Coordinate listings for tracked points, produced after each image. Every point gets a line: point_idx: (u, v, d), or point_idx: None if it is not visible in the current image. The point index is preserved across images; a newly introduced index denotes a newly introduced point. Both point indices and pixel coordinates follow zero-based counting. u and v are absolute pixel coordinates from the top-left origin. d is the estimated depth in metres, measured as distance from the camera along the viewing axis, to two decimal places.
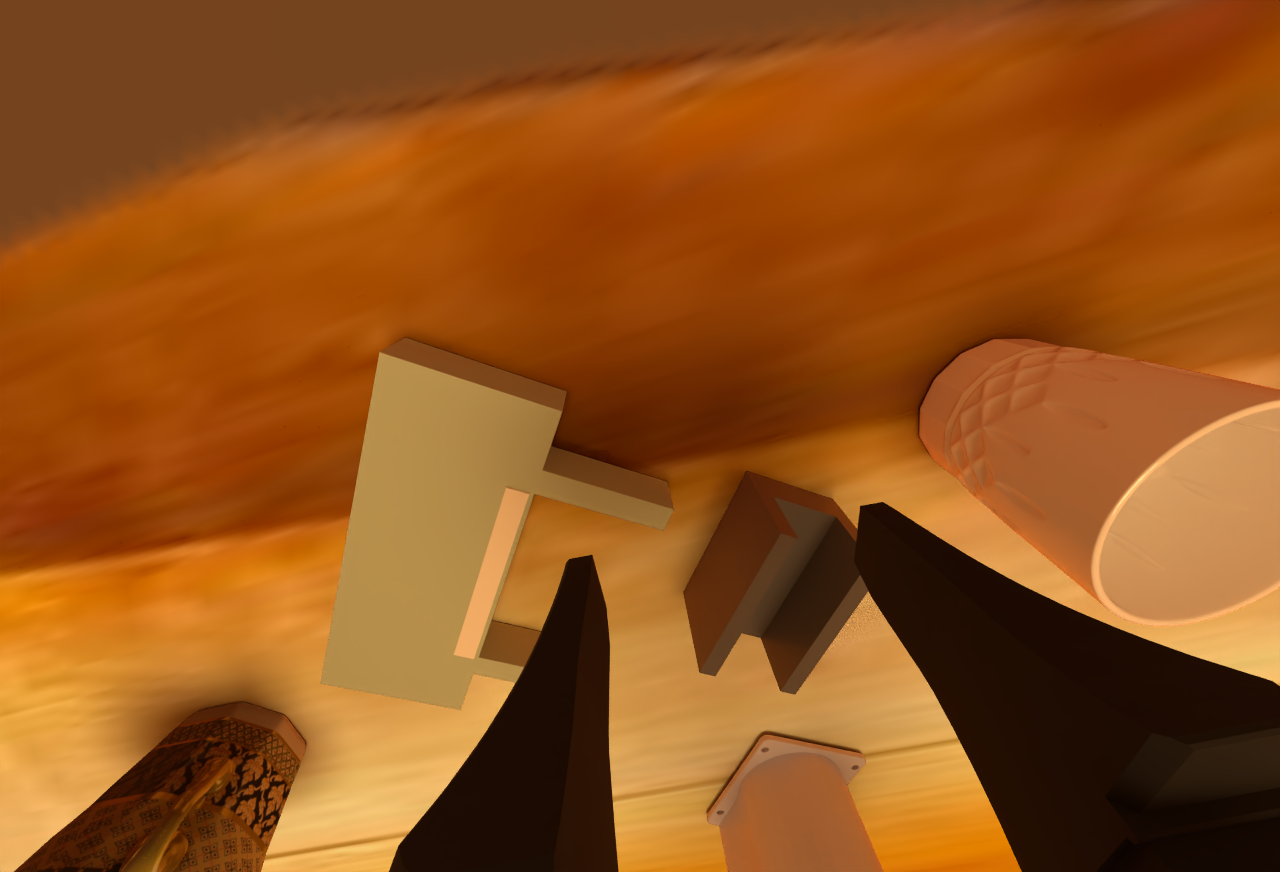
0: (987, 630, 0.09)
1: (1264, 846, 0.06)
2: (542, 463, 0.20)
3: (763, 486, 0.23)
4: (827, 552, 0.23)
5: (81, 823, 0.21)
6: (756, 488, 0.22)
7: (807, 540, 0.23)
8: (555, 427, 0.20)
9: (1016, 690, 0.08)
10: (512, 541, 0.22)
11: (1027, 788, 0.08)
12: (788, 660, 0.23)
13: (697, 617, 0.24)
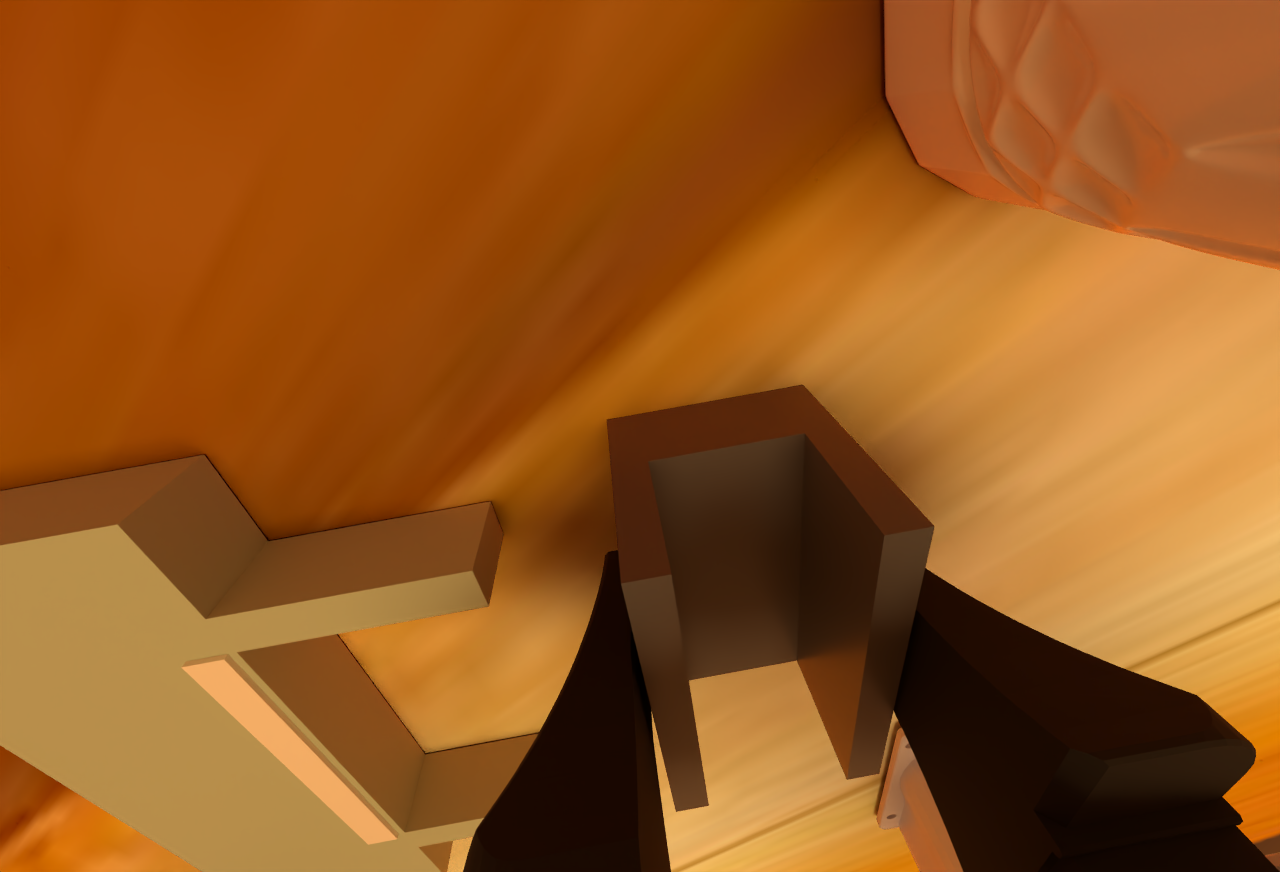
0: (931, 641, 0.09)
1: (1188, 861, 0.06)
2: (192, 610, 0.11)
3: (633, 443, 0.11)
4: (816, 511, 0.10)
5: None
6: (612, 459, 0.11)
7: (773, 498, 0.11)
8: (141, 552, 0.10)
9: (957, 701, 0.08)
10: (281, 718, 0.13)
11: (969, 799, 0.08)
12: (838, 723, 0.12)
13: None
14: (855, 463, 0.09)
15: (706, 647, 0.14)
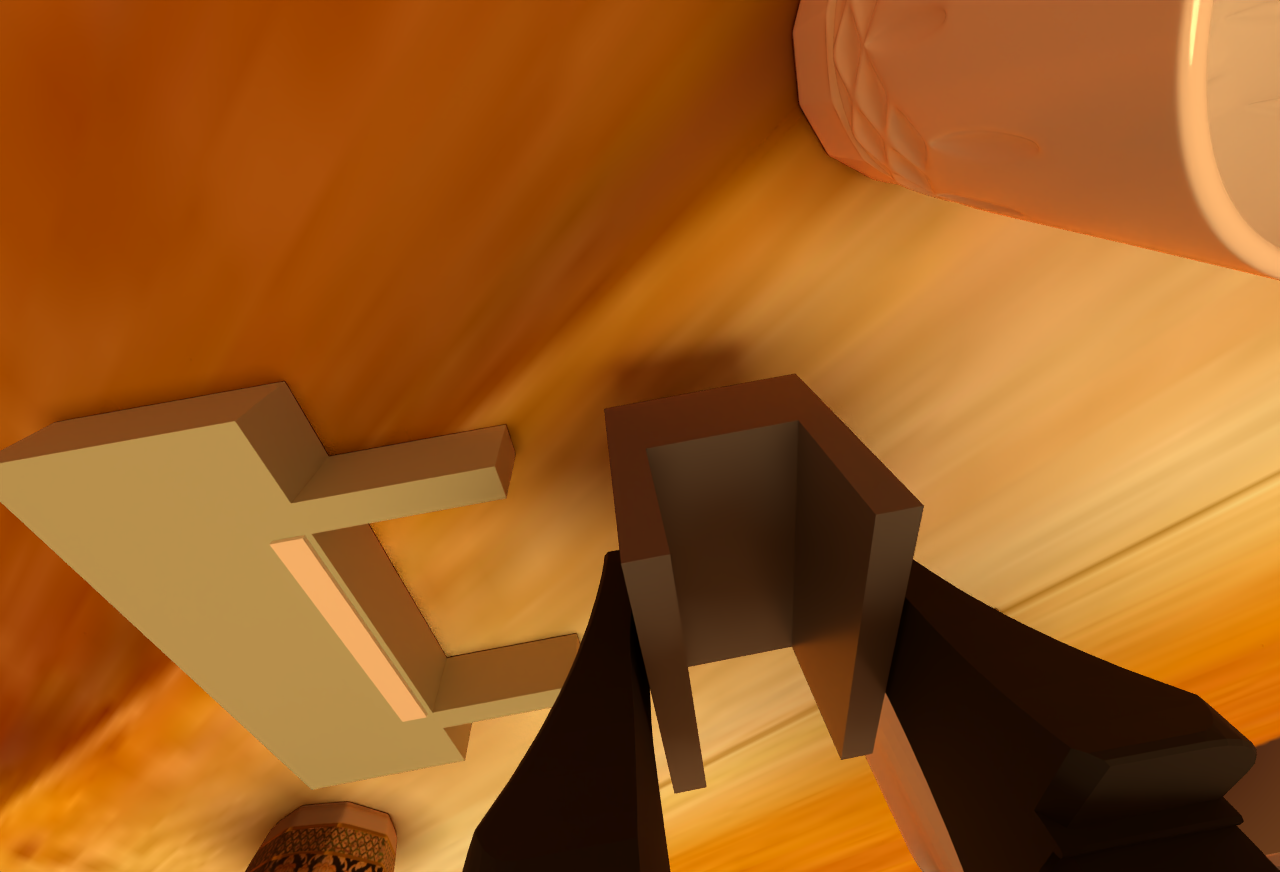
0: (931, 641, 0.09)
1: (1189, 861, 0.06)
2: (281, 495, 0.14)
3: (631, 431, 0.11)
4: (810, 496, 0.11)
5: None
6: (609, 447, 0.11)
7: (768, 485, 0.11)
8: (249, 445, 0.13)
9: (957, 701, 0.08)
10: (341, 595, 0.16)
11: (970, 799, 0.08)
12: (832, 704, 0.12)
13: None
14: (848, 447, 0.10)
15: (703, 634, 0.14)
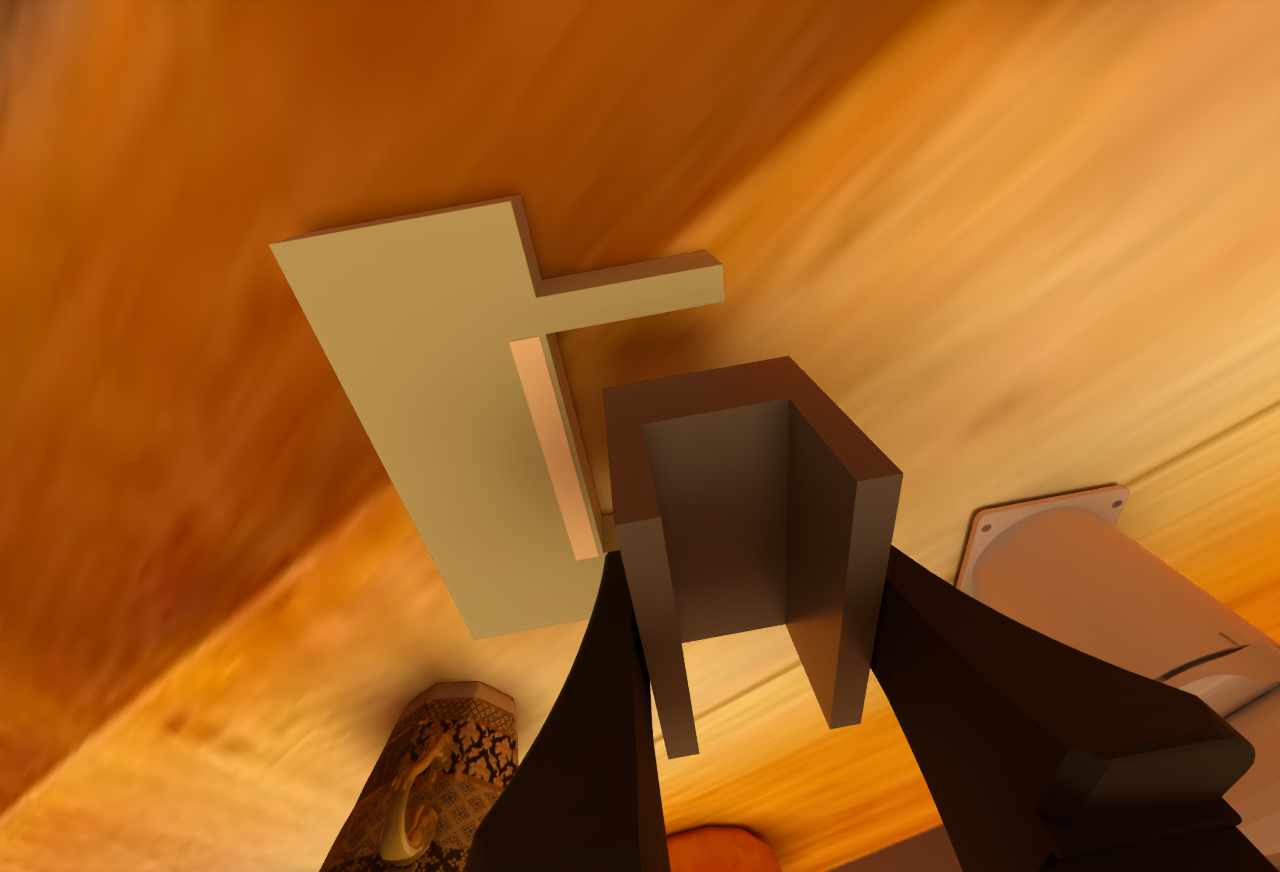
0: (931, 641, 0.09)
1: (1187, 861, 0.06)
2: (530, 288, 0.15)
3: (627, 409, 0.12)
4: (800, 472, 0.11)
5: (348, 823, 0.23)
6: (607, 423, 0.11)
7: (760, 462, 0.12)
8: (515, 229, 0.14)
9: (956, 701, 0.08)
10: (556, 405, 0.17)
11: (969, 799, 0.08)
12: (821, 675, 0.12)
13: None
14: (835, 422, 0.10)
15: (698, 610, 0.14)
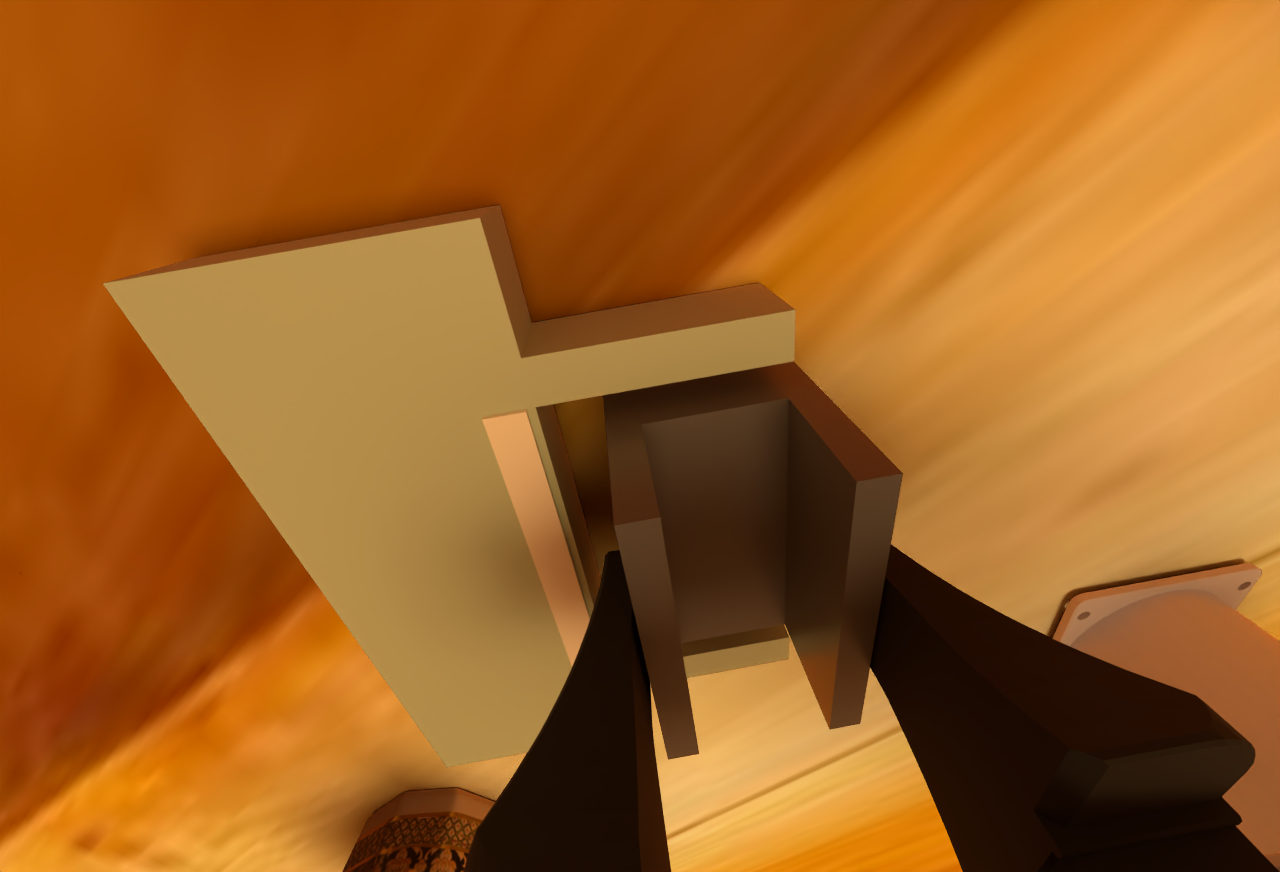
0: (931, 641, 0.09)
1: (1187, 861, 0.06)
2: (512, 345, 0.10)
3: (627, 409, 0.12)
4: (800, 472, 0.11)
5: None
6: (607, 423, 0.11)
7: (760, 462, 0.12)
8: (489, 260, 0.09)
9: (957, 701, 0.08)
10: (551, 500, 0.12)
11: (969, 799, 0.08)
12: (821, 675, 0.12)
13: None
14: (834, 422, 0.10)
15: (698, 610, 0.14)
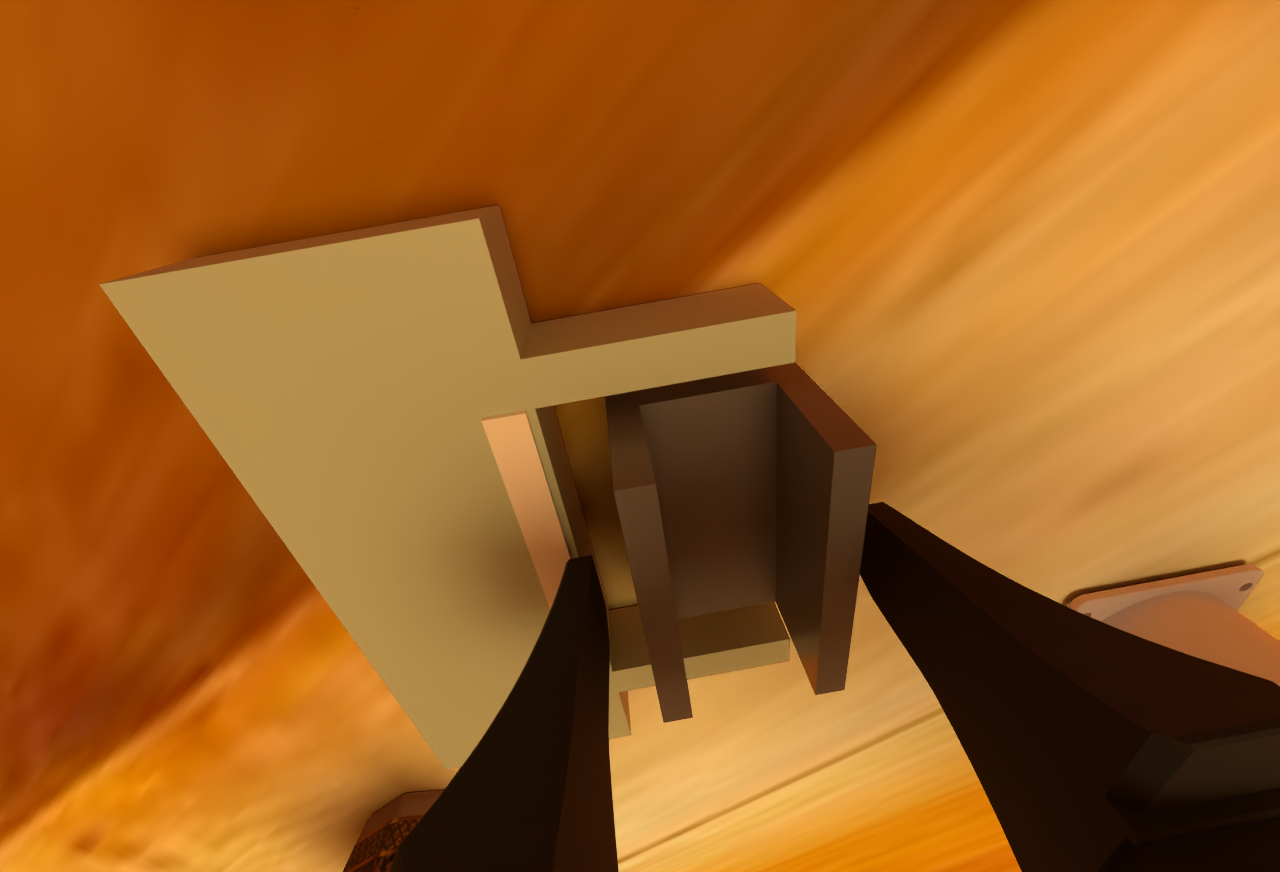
0: (988, 630, 0.09)
1: (1264, 846, 0.06)
2: (512, 346, 0.10)
3: (627, 392, 0.13)
4: (787, 450, 0.12)
5: None
6: (607, 404, 0.12)
7: (750, 442, 0.13)
8: (488, 260, 0.09)
9: (1016, 690, 0.08)
10: (551, 502, 0.12)
11: (1027, 788, 0.08)
12: (807, 644, 0.13)
13: None
14: (818, 402, 0.11)
15: (693, 586, 0.15)
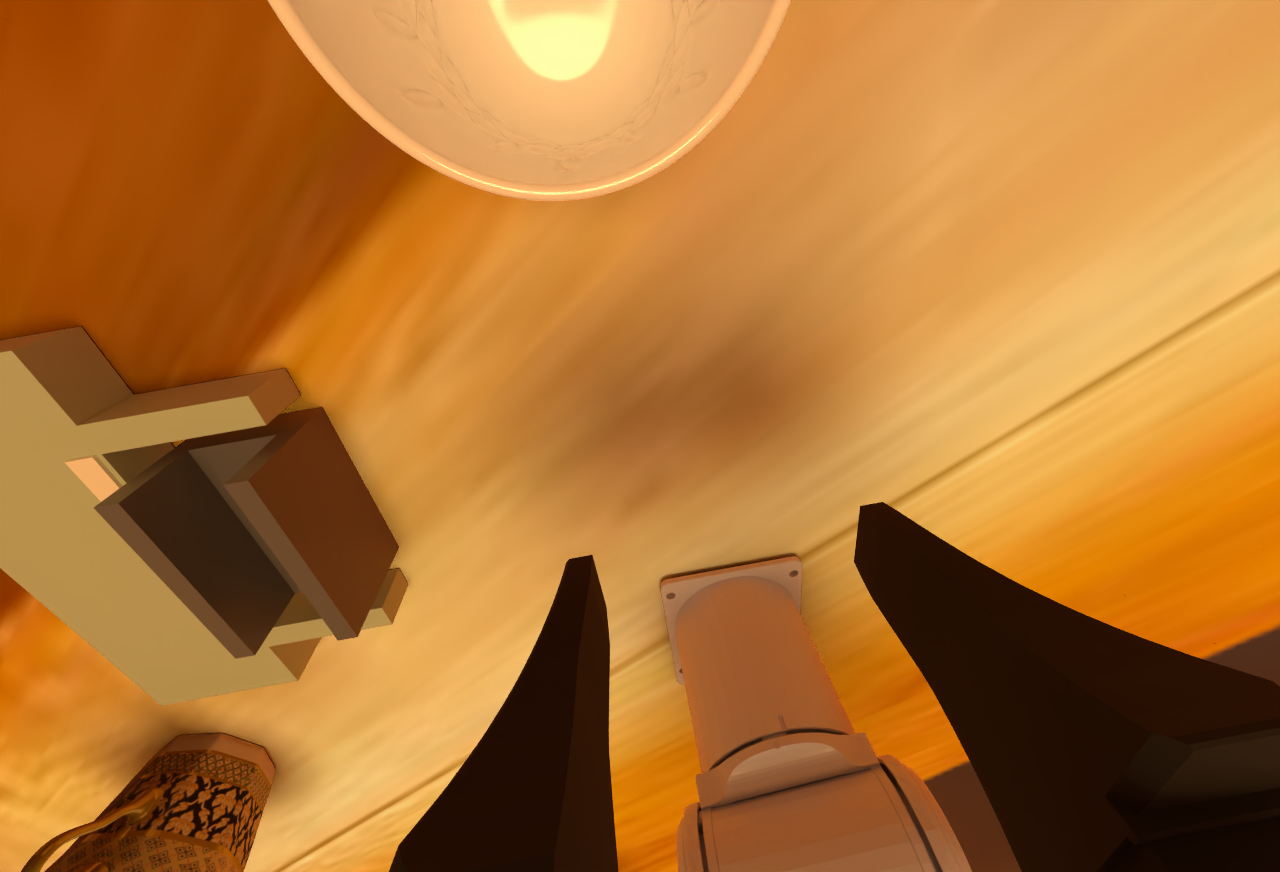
0: (987, 631, 0.09)
1: (1264, 846, 0.06)
2: (67, 418, 0.17)
3: (196, 440, 0.19)
4: None
5: None
6: (173, 449, 0.19)
7: None
8: (28, 372, 0.16)
9: (1016, 690, 0.08)
10: None
11: (1027, 788, 0.08)
12: None
13: None
14: (270, 450, 0.17)
15: None
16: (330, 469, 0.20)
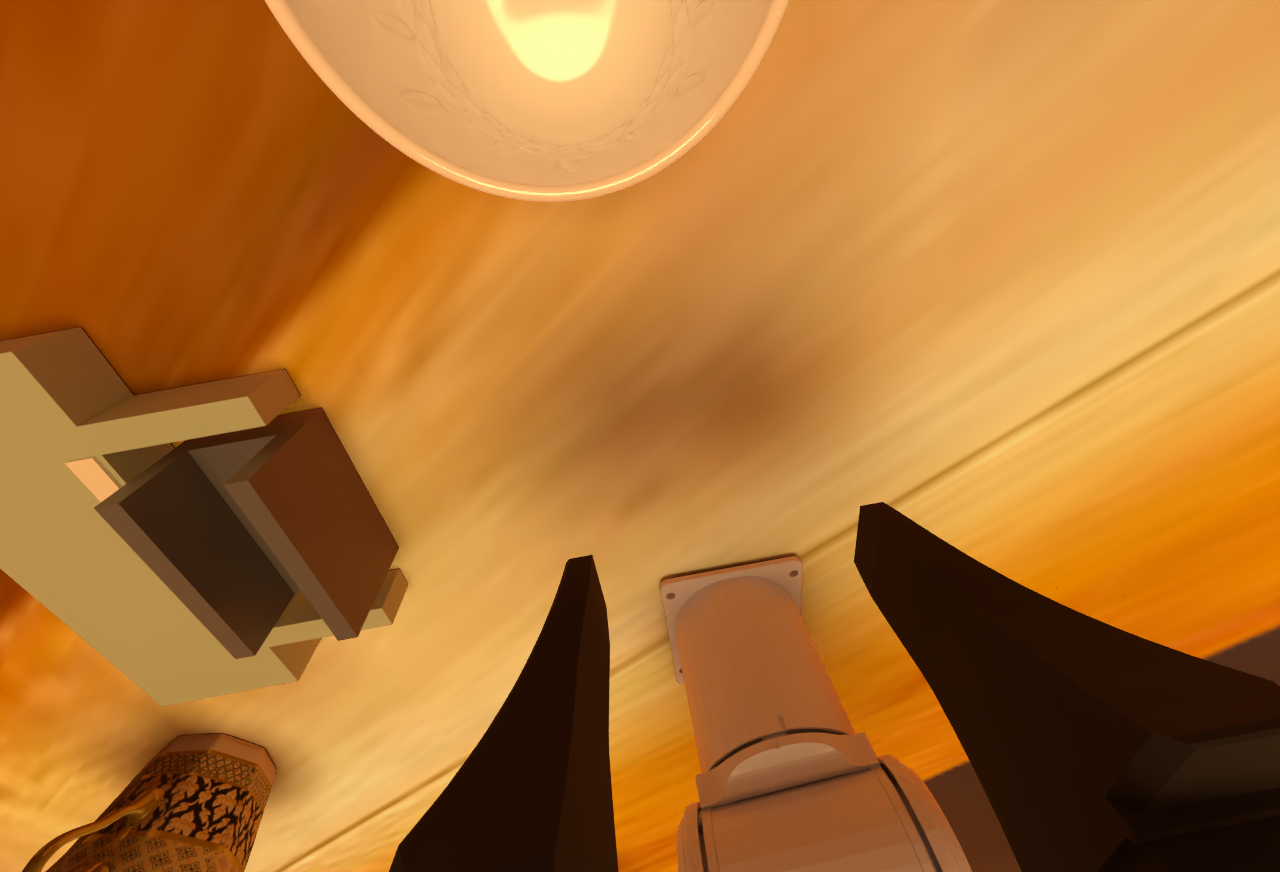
0: (987, 630, 0.09)
1: (1264, 846, 0.06)
2: (67, 419, 0.17)
3: (196, 440, 0.19)
4: None
5: None
6: (173, 449, 0.19)
7: None
8: (28, 373, 0.16)
9: (1016, 690, 0.08)
10: None
11: (1027, 788, 0.08)
12: None
13: None
14: (270, 451, 0.17)
15: None
16: (330, 469, 0.20)
